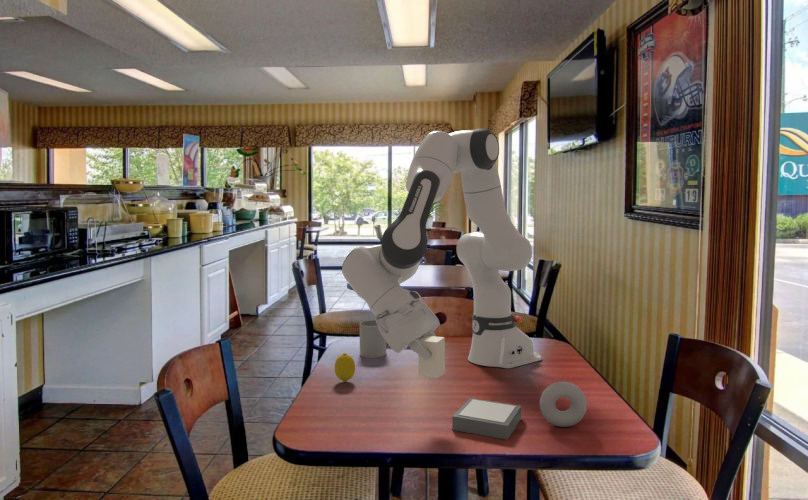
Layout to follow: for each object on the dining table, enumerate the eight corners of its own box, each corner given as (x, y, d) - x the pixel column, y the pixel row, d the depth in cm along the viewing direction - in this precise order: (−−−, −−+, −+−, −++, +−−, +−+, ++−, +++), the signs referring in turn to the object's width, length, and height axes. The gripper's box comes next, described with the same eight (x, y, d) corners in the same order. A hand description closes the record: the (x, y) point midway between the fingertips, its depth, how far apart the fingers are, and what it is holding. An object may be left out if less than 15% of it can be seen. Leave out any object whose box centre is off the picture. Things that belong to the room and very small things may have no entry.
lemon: (352, 386, 147) (351, 356, 147) (332, 384, 149) (331, 355, 148) (357, 379, 153) (357, 350, 152) (338, 378, 154) (338, 349, 153)
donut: (540, 429, 120) (541, 383, 119) (537, 422, 124) (538, 378, 123) (587, 430, 119) (589, 385, 118) (584, 424, 123) (585, 379, 122)
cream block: (426, 369, 128) (426, 335, 127) (444, 371, 126) (444, 337, 125) (418, 375, 124) (418, 340, 123) (437, 378, 122) (437, 342, 121)
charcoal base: (469, 410, 131) (470, 397, 130) (521, 418, 126) (521, 405, 125) (452, 429, 120) (452, 415, 120) (507, 439, 115) (507, 425, 114)
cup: (356, 352, 180) (356, 321, 179) (380, 349, 183) (380, 319, 182) (365, 359, 172) (364, 327, 171) (390, 356, 176) (389, 324, 175)
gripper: (381, 307, 117) (425, 358, 114) (420, 290, 135) (458, 334, 132) (363, 326, 119) (405, 376, 116) (403, 307, 137) (441, 350, 134)
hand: (434, 353), depth 124 cm, fingers closed on cream block, 4 cm apart
